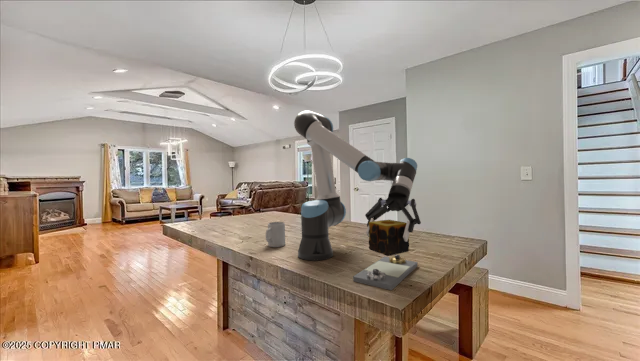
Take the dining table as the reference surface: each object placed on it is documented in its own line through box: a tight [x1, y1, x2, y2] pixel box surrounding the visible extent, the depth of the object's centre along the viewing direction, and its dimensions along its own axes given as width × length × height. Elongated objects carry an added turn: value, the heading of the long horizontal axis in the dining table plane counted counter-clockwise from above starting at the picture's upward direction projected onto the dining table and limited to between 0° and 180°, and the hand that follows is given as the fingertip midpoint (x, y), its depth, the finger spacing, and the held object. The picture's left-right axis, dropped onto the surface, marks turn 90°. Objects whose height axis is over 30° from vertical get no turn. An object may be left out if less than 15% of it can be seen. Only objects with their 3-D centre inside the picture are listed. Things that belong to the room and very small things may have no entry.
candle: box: [368, 219, 410, 257], centre depth 95 cm, size 10×10×10 cm
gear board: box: [352, 254, 418, 291], centre depth 96 cm, size 13×26×4 cm, turn 144°
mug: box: [265, 221, 286, 248], centre depth 136 cm, size 12×8×11 cm
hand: (385, 237), depth 94 cm, fingers closed on candle, 13 cm apart
